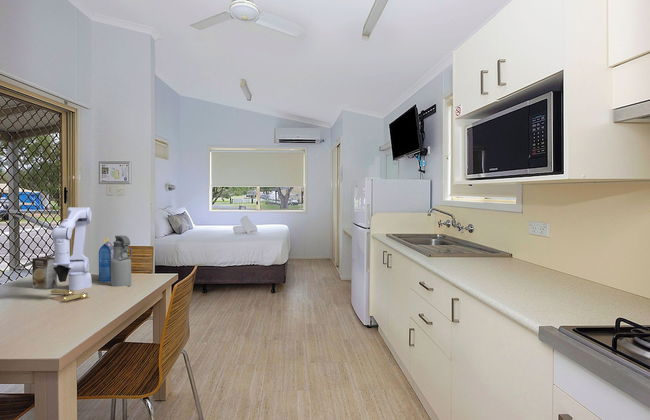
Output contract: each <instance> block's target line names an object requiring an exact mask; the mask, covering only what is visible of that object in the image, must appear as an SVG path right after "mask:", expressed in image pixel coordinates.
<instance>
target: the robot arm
mask: <svg viewBox="0 0 650 420" xmlns="http://www.w3.org/2000/svg"><path fill="white" fill-rule="evenodd" d="M92 215H93V213H92V209H91V207H88V206H86V207H83V206H82V207H77V206H76V207H75V206H74V207H72V206H69V207H68V208H67V210H66V218H64V219H63V220H62V221H61V223H60V224H59V225H58V226H57V227H55V228H53V229H52V231H51V238H52V243H53V245H54V248H53V249H54V257H55V261H51V265H57V267H54V268H53V269H54V270H55V272H56V273H57V279H58V281H59V283H63V282H66V281H67V278H68V290H74V291H79V290H83V289H84V290H85V289H87V288H88V289H89V288H92V286H93V285H92V284H93V283H92V278H93V277H92V274H91V273H90V272H89V271H90V259H89V257H88V256H86V255H84V254H85V253H84V252H85V245H86V244H85V243H86V235H87V234H86V233H87V228H88V225H89V224H91V222H92ZM74 229H75V230H74ZM73 230H74V231H75V232H74V238H73V247H72V254H71V253H70V252H71V251H70V250H71V246H70V245H71V243H70V242H71V238H72V236H73V235H72V234H73ZM70 254H71V255H70Z"/></svg>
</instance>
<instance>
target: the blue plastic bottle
mask: <svg viewBox="0 0 650 420" xmlns="http://www.w3.org/2000/svg"><path fill="white" fill-rule="evenodd" d="M112 259H114V245H113V244H112V243H111V242H109V237H108V236H107V237H106V238H104V244H103V245H102V246H101V247H100V248H99V250H98V281H99V282H103V283H106V282H111V260H112Z"/></svg>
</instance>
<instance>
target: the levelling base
mask: <svg viewBox="0 0 650 420" xmlns="http://www.w3.org/2000/svg"><path fill="white" fill-rule="evenodd" d="M63 297H65V296H64V294H59V295H57V296H53V297H48V298H47V299H48V300H52V301H57V302H60V303H65V304H70V303H74V302H78V301H82V300H86V299H89V298H90V299H91V297H90V296H88V297H87V298H84V299H78V298H75V299H71V300H67V301H63V300H62V298H63Z"/></svg>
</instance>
